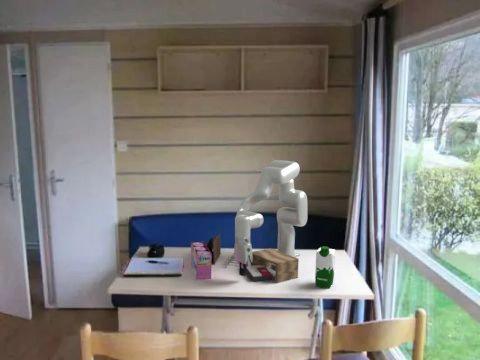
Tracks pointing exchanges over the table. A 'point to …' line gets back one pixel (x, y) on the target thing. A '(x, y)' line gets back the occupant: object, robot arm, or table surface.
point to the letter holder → (214, 248)
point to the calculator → (258, 273)
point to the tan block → (277, 263)
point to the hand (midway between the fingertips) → (242, 274)
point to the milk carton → (324, 267)
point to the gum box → (201, 260)
